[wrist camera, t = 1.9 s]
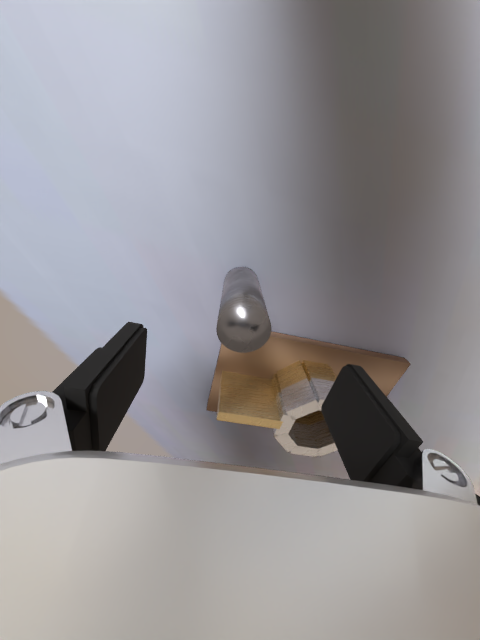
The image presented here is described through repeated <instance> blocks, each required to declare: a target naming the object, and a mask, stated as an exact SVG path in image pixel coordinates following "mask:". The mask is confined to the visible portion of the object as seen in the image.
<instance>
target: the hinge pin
mask: <svg viewBox="0 0 480 640" xmlns="http://www.w3.org/2000/svg"><path fill="white" fill-rule="evenodd" d="M270 334H271V323H270V320H269V316H268V313H267V309H266V306H265V302H264V299H263V295H262V292H261V288H260V285H259V281H258V278H257V276H256V274H255V273H254V272H253V271H252V270H251V269H249V268H246V267H236V268H234V269H232V270H230V271H229V272H228V273H227V275H226V277H225V280H224V285H223V291H222V298H221V304H220V310H219V316H218V322H217V335H218V338H219V340H220V342H221V343H222V344H223V345H224V346H225V347H226V348H228V349H230V350H232V351H235V352H240V353H247V352H252V351H255V350H257V349H259V348H261V347H262V346H263V345H264V344H265V343H266V342H267V341H268V339H269V337H270Z"/></svg>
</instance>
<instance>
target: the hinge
mask: <svg viewBox="0 0 480 640" xmlns="http://www.w3.org/2000/svg"><path fill="white" fill-rule="evenodd" d="M336 378H337V377H336V375H335V373H334V372H333V370H332V368H331V367H330V366H328V364H323V363H317V362H312V361H307V360H303V362H302V363H301V362H300V361H297V362H295V363H293V364H291V365H289V366H287V367H285V368H283V369H280V370H278V371H277V374H274V375H273V378H272V379H267V378H261V377H255V376H250V375H244V374H238V373H232V372H226V371H222V374H221V378H220V389H219V400H218V410H217V420H220V421H227V422H234V423H241V424H248V425H254V426H261V427H268V428H273V432H274V437H275V438H276V440H277V441H278V442H279V443H280V444H281V445H282V447H283V448H284V449H285V450H286V451H287V452H289V451H290V454H298V455H305V456H313V457H316V456H317V455H319V456H323V455H326V454H328V453H331V452H334V451H337V450H338V449H337V447H336V445H335V442H334V440H333V438H332V435H331V433H330V431H329V428H328V426H327V424H326V421H325V419H324V417H323V415H322V412H321V407H322V404H323V402H324V400H325V399H326V397H327V395H328V393H329V391H330V389H331V387H332V385H333V384H334V382H335V380H336Z"/></svg>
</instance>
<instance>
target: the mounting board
mask: <svg viewBox="0 0 480 640" xmlns="http://www.w3.org/2000/svg"><path fill="white" fill-rule="evenodd" d="M303 360H307V361H312V362H317V363H323V364H328V366H330V367H331V368H332V370H333V372H334V373H335V375H336V377H337V376H338V374H339V372H340V371H341V369H342V367H343V366H346V365H347V364H353V365H358V366H361V367H362V368H363V369H364V370H365V371H366V373H367V374H368V375H369V376H370V377H371V379H372V380H373V381H374V382H375V384H376V385H377V386H378V387H379V388H380V390H381V391H382V392H383V393H384V394H385V396H386V397H387V395H388V394H389V393H390V391H391V390H392V389H393V387H394V386H395V385H396V383H397V382H398V380H399V379H400V378H401V376H402V375H403V374H404V372H405V371H406V370H407V368H408V367H409V366H410V363H409V362H408V361H407V360H406V359H405V358H403V357H398V356H393V355H388V354H383V353H378V352H373V351H367V350H362V349H357V348H352V347H347V346H342V345H337V344H332V343H327V342H322V341H317V340H312V339H307V338H302V337H297V336H292V335H287V334H282V333H277V332H272V331H271V334H270V337H269V339H268V341H267V342H266V343H265V344H264V345H263V346H262V347H261V348H259V349H257V350H255V351H252V352H247V353H240V352H235V351H232V350H230V349H228V348H226V347H225V346H224V345H223V344H222V343H221V348H220V352H219V356H218V360H217V365H216V369H215V373H214V378H213V382H212V386H211V390H210V395H209V399H208V403H207V410H208V411H215V412H217V410H218V400H219V389H220V378H221V374H222V371H226V372H232V373H238V374H244V375H250V376H255V377H261V378H267V379H272V378H273V375H274V374H277V371H278V370H280V369H283V368H285V367H287V366H289V365H291V364H293V363H295V362H297V361H300V362H301V363H302V362H303Z"/></svg>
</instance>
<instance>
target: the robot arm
mask: <svg viewBox="0 0 480 640" xmlns="http://www.w3.org/2000/svg"><path fill="white" fill-rule="evenodd" d="M146 340H147V329H146V328H143V325H142V324H138V323H133V322H128V323H126V324H125V325H124V326H123V327H122V328H121V329H120V330H119V332H118V333H117V334H116V335H115V336H114V337H113V338H112V339H111V340H110V341H109V342H108V343H107V344H106V345H105V346H104V347H103V348H97V349H96V350H95V351H94V352H93V353H92V354H91V355H90V356H89V357H88V358H87V359H86V360H85V361H84V362H83V363H82V364H81V365H79V366H78V367H77V368H76V369H75V371H73V372H72V373H71V374H70V375H69V376H68V377H67V378H66V379H65V380H64V381H63V382H62V383H61V384H60V385H59V386H58V387H57V388H56V389H55V390H54V391H53V392H47V391H37V392H31V393H26V394H23V395H20V396H17V397H15V398H13V399H11V400H9V401H7V402H5V403H4V404H3V405H1V406H0V640H480V497H479V496H478V495H476V494H475V491H474V487H473V484H472V482H471V479H470V478H469V477H468V475H467V474H466V473H465V471H464V470H463V469H462V468H461V467H460V466H459V465H458V464H456V463H455V462H454V461H453V460H452V459H450V458H449V457H447V456H446V455H444V454H442V453H440V452H438V451H436V450H433V449H425V450H423V451H422V452H421V451H420V450H419V448H418V447H419V446H420V445H421V444H422V443H423V441H422V440H421V438H420V437H419V436H418V435H417V433H416V432H415V431H414V430H413V429H412V427H411V426H410V425H409V424H408V423H407V421H406V420H405V419H404V418H403V416H402V415H401V414H400V413H399V412H398V410H397V409H396V408H395V407H394V405H393V404H392V403H391V402H390V401H389V399H388V398H387V397H386V396H385V394H384V393H383V392H382V391H381V390H380V388H379V387H378V386H377V385H376V384H375V382H374V381H373V380H372V379H371V377H370V376H369V375H368V374H367V373H366V371H365V370H364V369H363V368H362V367H361V366H358V365H353V364H347V365H346V366H343V367H342V369H341V371H340V372H339V374H338V376H337V378H336V380H335V382H334V384H333V385H332V387H331V389H330V391H329V393H328V395H327V397H326V399H325V400H324V402H323V404H322V407H321V412H322V415H323V417H324V419H325V421H326V424H327V426H328V428H329V431H330V433H331V435H332V438H333V440H334V442H335V445H336V447H337V449H338V452H339V454H340V456H341V459H342V461H343V463H344V466H345V468H346V470H347V473H348V475H349V477H350V479H351V480H348V479H340V478H333V477H325V476H317V475H309V474H301V473H294V472H286V471H278V470H270V469H262V468H254V467H246V466H238V465H229V464H221V463H212V462H204V461H196V460H187V459H179V458H171V457H161V456H151V455H142V454H132V453H122V452H108V451H106V449H107V447H108V445H109V443H110V441H111V440H112V438H113V436H114V434H115V432H116V430H117V429H118V427H119V425H120V423H121V421H122V420H123V418H124V416H125V414H126V412H127V410H128V409H129V407H130V405H131V403H132V401H133V399H134V398H135V396H136V394H137V392H138V390H139V389H140V387H141V385H142V383H143V380H144V373H145V357H146Z"/></svg>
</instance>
